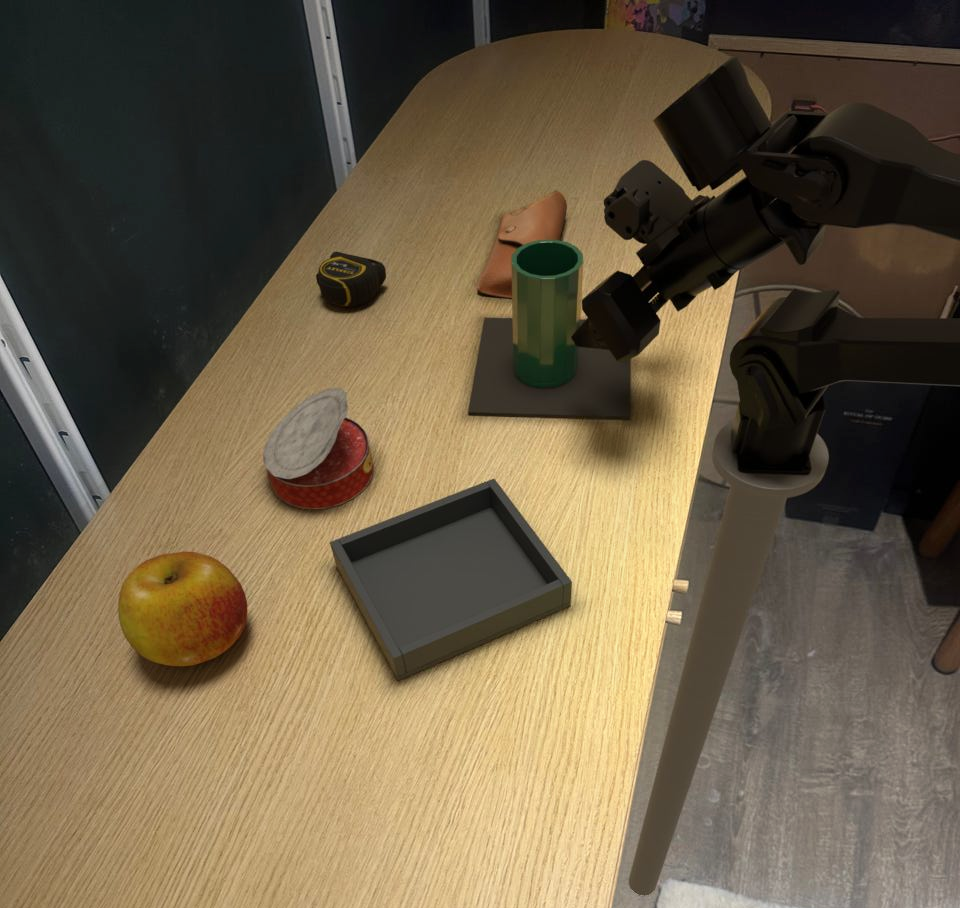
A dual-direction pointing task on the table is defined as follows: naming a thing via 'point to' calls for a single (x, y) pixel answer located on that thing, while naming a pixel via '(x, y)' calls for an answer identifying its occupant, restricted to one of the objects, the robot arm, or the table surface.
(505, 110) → the table surface
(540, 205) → the sunglasses case
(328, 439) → the canned food
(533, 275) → the cup
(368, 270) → the tape measure
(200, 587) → the fruit
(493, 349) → the mat
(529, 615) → the tray
